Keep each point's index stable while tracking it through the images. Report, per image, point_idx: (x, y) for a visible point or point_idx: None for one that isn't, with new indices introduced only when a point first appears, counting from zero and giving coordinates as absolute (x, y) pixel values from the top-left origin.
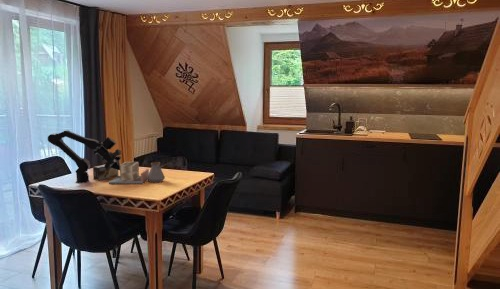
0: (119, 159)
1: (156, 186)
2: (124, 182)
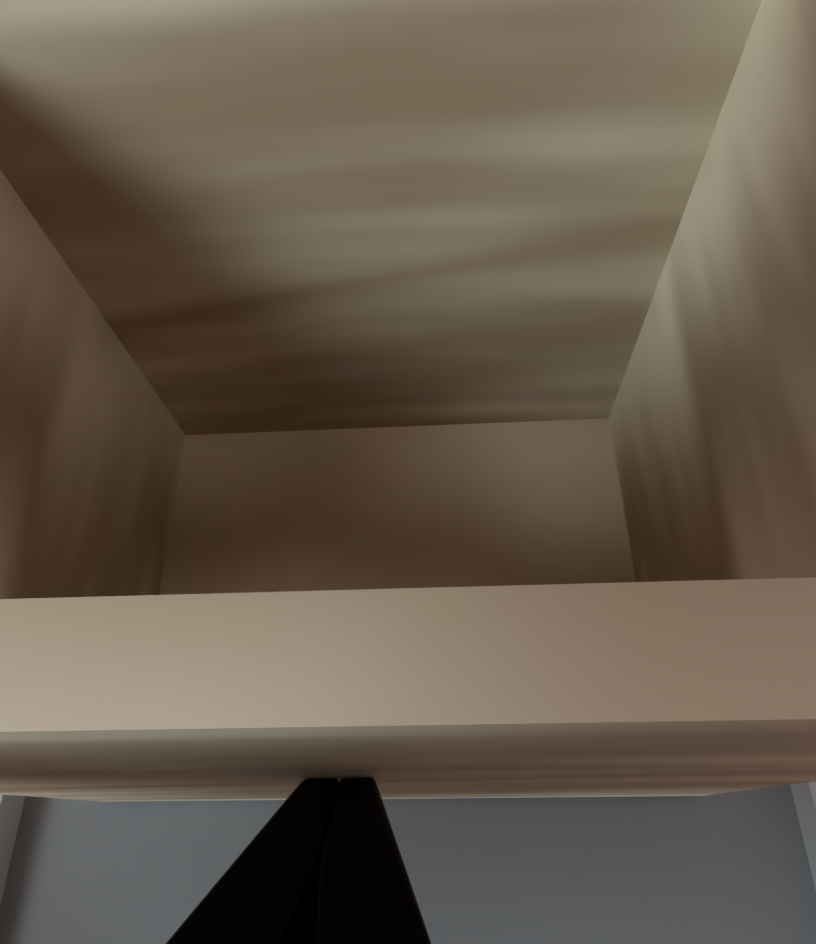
0: None
1: None
2: None
